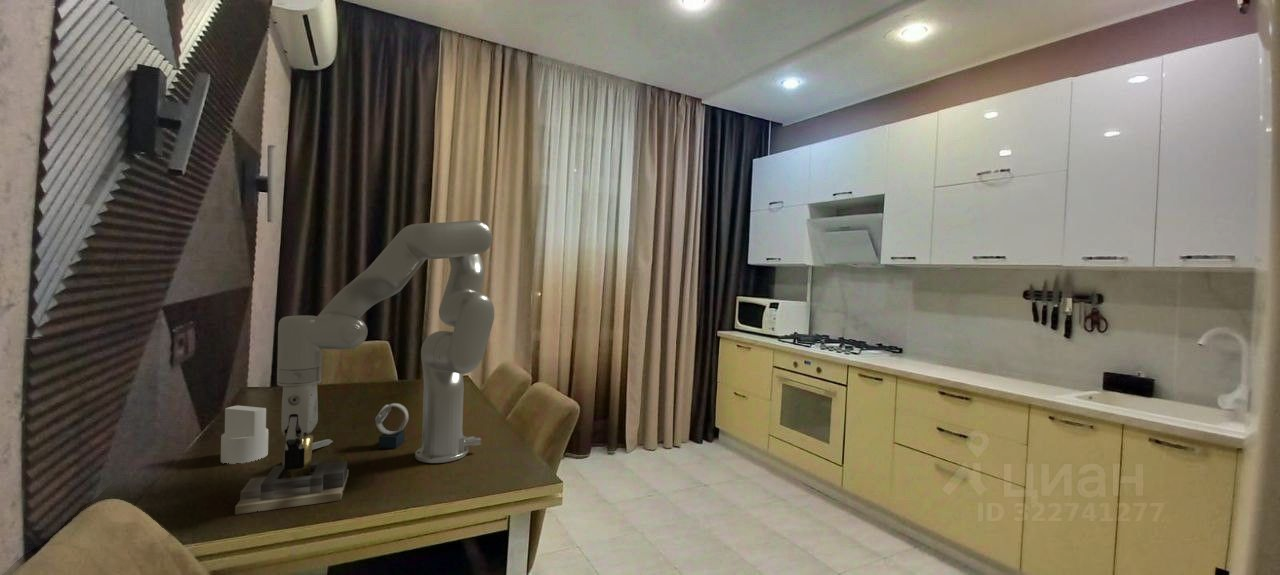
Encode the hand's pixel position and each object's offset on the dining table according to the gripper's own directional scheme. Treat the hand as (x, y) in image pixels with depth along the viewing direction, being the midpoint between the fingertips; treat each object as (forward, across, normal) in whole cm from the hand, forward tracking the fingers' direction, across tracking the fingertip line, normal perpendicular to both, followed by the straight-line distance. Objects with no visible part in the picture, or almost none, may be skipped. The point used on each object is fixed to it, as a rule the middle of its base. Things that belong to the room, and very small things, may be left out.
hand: (297, 462), depth 101 cm
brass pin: (+5, 0, 0) cm, 5 cm away
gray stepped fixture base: (+7, 0, 0) cm, 7 cm away
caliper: (+7, +24, +2) cm, 25 cm away
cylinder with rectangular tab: (+7, +28, +16) cm, 32 cm away
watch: (+7, +26, -16) cm, 31 cm away
